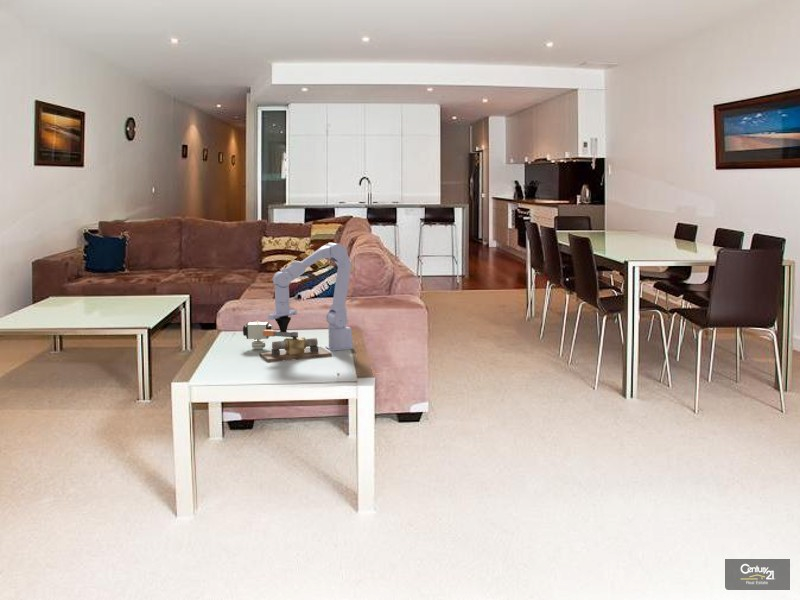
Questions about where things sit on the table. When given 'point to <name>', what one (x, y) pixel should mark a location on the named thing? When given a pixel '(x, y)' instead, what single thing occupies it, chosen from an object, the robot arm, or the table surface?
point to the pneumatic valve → (256, 333)
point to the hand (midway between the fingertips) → (283, 334)
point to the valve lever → (280, 333)
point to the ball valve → (294, 350)
